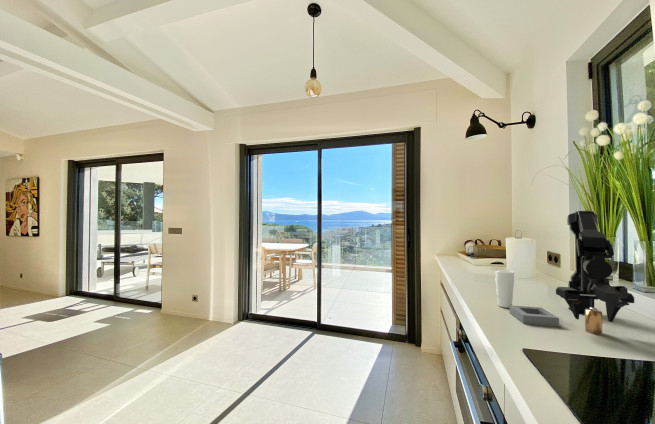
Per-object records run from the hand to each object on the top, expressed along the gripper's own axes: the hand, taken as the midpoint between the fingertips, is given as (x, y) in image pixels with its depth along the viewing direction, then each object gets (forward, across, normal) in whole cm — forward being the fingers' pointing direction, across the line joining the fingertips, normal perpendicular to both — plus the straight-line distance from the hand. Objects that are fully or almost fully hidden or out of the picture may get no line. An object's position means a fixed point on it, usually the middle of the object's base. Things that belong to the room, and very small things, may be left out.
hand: (593, 320), depth 88 cm
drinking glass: (+4, -18, +22) cm, 29 cm away
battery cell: (+4, 0, 0) cm, 4 cm away
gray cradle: (+4, -14, +8) cm, 17 cm away
